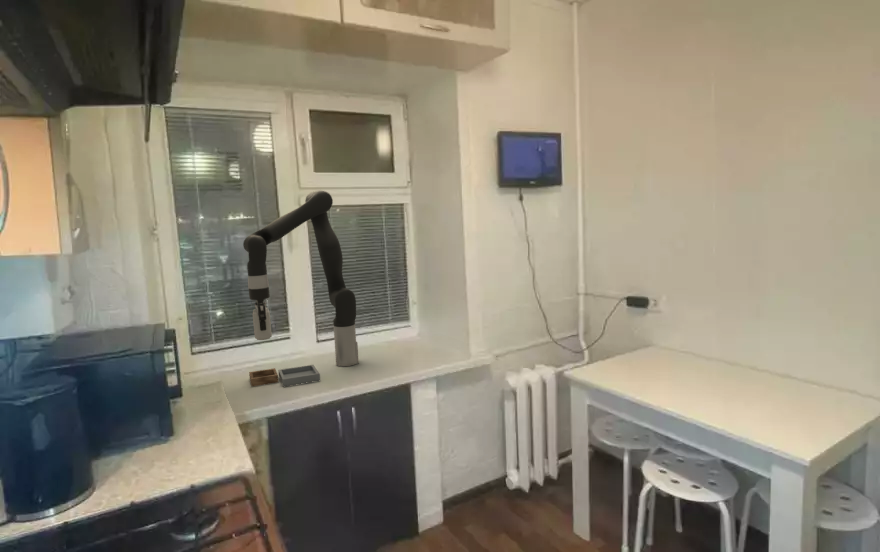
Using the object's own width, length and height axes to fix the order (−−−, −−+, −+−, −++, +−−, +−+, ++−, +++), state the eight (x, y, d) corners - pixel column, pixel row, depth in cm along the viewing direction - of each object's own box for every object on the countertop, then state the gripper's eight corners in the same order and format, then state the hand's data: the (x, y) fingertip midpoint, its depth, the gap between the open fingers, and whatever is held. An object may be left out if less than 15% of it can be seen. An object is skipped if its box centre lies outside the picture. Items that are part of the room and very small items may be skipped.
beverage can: (266, 340, 199) (263, 310, 198) (251, 340, 201) (248, 310, 199) (275, 336, 205) (272, 307, 204) (260, 336, 207) (257, 307, 205)
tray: (313, 371, 214) (313, 364, 214) (320, 380, 202) (319, 373, 201) (278, 376, 209) (278, 369, 208) (283, 387, 196) (282, 379, 196)
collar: (275, 375, 211) (275, 368, 211) (278, 382, 202) (277, 374, 202) (249, 379, 207) (249, 372, 207) (251, 386, 198) (250, 379, 198)
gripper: (270, 287, 195) (274, 331, 197) (267, 283, 208) (270, 324, 210) (249, 289, 192) (253, 333, 194) (247, 285, 205) (251, 326, 207)
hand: (262, 328), depth 202 cm, fingers closed on beverage can, 5 cm apart
